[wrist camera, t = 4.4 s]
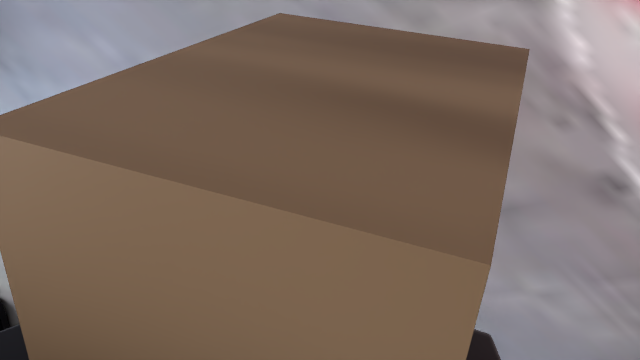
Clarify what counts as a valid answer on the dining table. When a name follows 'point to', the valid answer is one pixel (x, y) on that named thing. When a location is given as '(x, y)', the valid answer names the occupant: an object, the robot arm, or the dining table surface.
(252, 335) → the wooden block with plate
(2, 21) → the dining table surface
